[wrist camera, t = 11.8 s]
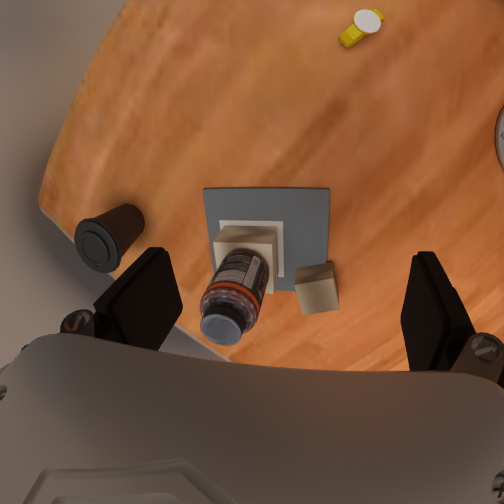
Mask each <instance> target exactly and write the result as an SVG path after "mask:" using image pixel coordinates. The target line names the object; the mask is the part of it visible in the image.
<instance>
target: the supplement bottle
mask: <svg viewBox="0 0 504 504" xmlns="http://www.w3.org/2000/svg"><path fill="white" fill-rule="evenodd" d="M268 279H269V268H268V265H267V263H266V261H265V260H264V258H263V257H262V256H260V255H259V254H258V253H256V252H254V251H252V250H248V249H237V250H234V251H231V252H230V253H228V254H227V255H226V256H225V258H224V259H223V260H222V262H221V264H220V265H219V267H218V269H217V271H216V273H215V274H214V276H213V278H212V280H211V282H210V283H209V285H208V287H207V289H206V291H205V293H204V294H203V296H202V299H201V302H200V312H201V315H202V320H201V323H200V329H201V332H202V333H203V335H204V336H205V337H206V338H207V339H208V340H209V341H211V342H213V343H215V344H218V345H222V346H231V345H234V344H236V343H237V342H238V341H239V340H240V339H241V336H242V334H244V333H246V332H248V331H249V330H251V329H252V328H253V326H254V325H255V323H256V321H257V318H258V315H259V312H260V308H261V305H262V301H263V297H264V294H265V290H266V286H267V283H268Z"/></svg>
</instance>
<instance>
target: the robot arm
mask: <svg viewBox="0 0 504 504" xmlns="http://www.w3.org/2000/svg"><path fill="white" fill-rule="evenodd" d="M495 137H496V149H497V154H498V158H499V161H500V164H501V166H502V168H503V170H504V108H503V109H502V111H501V113H500V115H499V118H498V122H497V126H496V135H495ZM93 305H94V307H95V309H96V312H95V313H94V314H93V313H92V312H91V311H90V310H87V309H80V310H77V311H74V312H72V313H71V314H69V315H67V316H66V317H65V318H64V320H63V321H62V323H61V326H60V333H57V334H49V335H45V336H41V337H38V338H36V339H35V340H33V341H32V342H31V343H30V344H27V345H25V346H24V347H23V348H22V350H21V352H20V353H19V354H18V355H17V357H15V358H14V360H13V361H12V362H11V363H9V364H8V365H6V366H4V367H3V368H1V369H0V504H504V344H503V343H502V342H501V341H500V339H499V338H497V337H495V336H494V335H492V334H489V333H483V332H481V333H476V332H475V329H474V327H473V325H472V323H471V320H470V318H469V316H468V314H467V312H466V309H465V307H464V305H463V303H462V301H461V299H460V297H459V295H458V293H457V291H456V289H455V288H454V287H452V285H451V283H450V281H449V279H448V277H447V275H446V273H445V271H444V269H443V267H442V266H441V264H440V262H439V260H438V258H437V257H436V255H435V253H434V252H431V251H419V252H418V254H417V255H414V256H413V258H412V263H411V269H410V274H409V280H408V285H407V290H406V294H405V299H404V304H403V308H402V312H401V327H402V331H403V336H404V341H405V346H406V351H407V357H408V362H409V368H410V371H336V370H314V369H297V368H284V367H272V366H261V365H251V364H242V363H234V362H226V361H217V360H211V359H204V358H197V357H190V356H184V355H178V354H172V353H167V352H161V351H158V350H159V348H160V346H161V345H162V343H163V342H164V340H165V338H166V336H167V335H168V334H169V332H170V330H171V329H172V327H173V325H174V324H175V322H176V321H177V319H178V317H179V316H180V314H181V312H182V309H183V305H182V301H181V297H180V294H179V290H178V286H177V283H176V279H175V275H174V272H173V268H172V264H171V260H170V256H169V253H168V252H167V251H165V249H164V248H163V247H149V248H148V249H147V250H146V251H145V252H144V253H143V254H142V255H141V256H140V257H139V258H138V259H137V260H136V261H135V262H134V263H133V264H132V265H131V266H130V267H129V268H128V269H127V270H126V271H125V272H124V273H123V274H122V275H121V276H120V277H119V278H118V279H117V280H116V281H115V282H114V283H113V284H112V285H111V286H110V287H109V288H108V289H107V290H106V291H105V292H104V293H103V294H102V295H101V296H100V297H99V298H98V300H97V301H96V302H95V303H94V304H93Z"/></svg>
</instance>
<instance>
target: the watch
mask: <svg viewBox="0 0 504 504" xmlns="http://www.w3.org/2000/svg"><path fill="white" fill-rule="evenodd" d="M385 19H386V17H385V16H384V15H383V14H382V13H381V12H380V11H379V10H378V9H373V10H371V11H370V10H366V9H363V10H359V11H357V12H356V13H355V14H354V16H353V24H352V25H351V26H349V27H348V28H347V29H346V30H345V31H344V32H343V33H342V34H341V35H340V37H339V41H340V42H341V43H342V44H343V45H344V46H345V47H346V48H348V47H350V46H352V45H353V44H355V43H356V42H358V41H359V40H360V39H361V38H363V37H364V36H365V35H367V34H374V33H376V32H377V31H378V30H379V29H380V26H381V23H382V22H383V21H384V20H385Z"/></svg>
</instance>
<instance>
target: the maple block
mask: <svg viewBox="0 0 504 504" xmlns="http://www.w3.org/2000/svg"><path fill="white" fill-rule="evenodd" d="M213 245H214V252H215V259H216V266H217V269H218V267H219V265H220V264H221V262H222V260H223V259H224V258H225V256H226V255H227V254H228V253H230V252H231V251H234V250H237V249H248V250H252V251H254V252H256V253H258V254H259V255H260V256H262V257H263V258H264V260H265V261H266V263H267V265H268V268H269V279H268V283H267V286H266V290H265V294H274V290H275V286H276V282H277V278H278V273H279V267H278V229H277V226H238V225H225V226H224V227H223V229H222V230H221V231H220V233H219V234H218V236H217V237H216V239H215V240H214V242H213Z"/></svg>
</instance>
